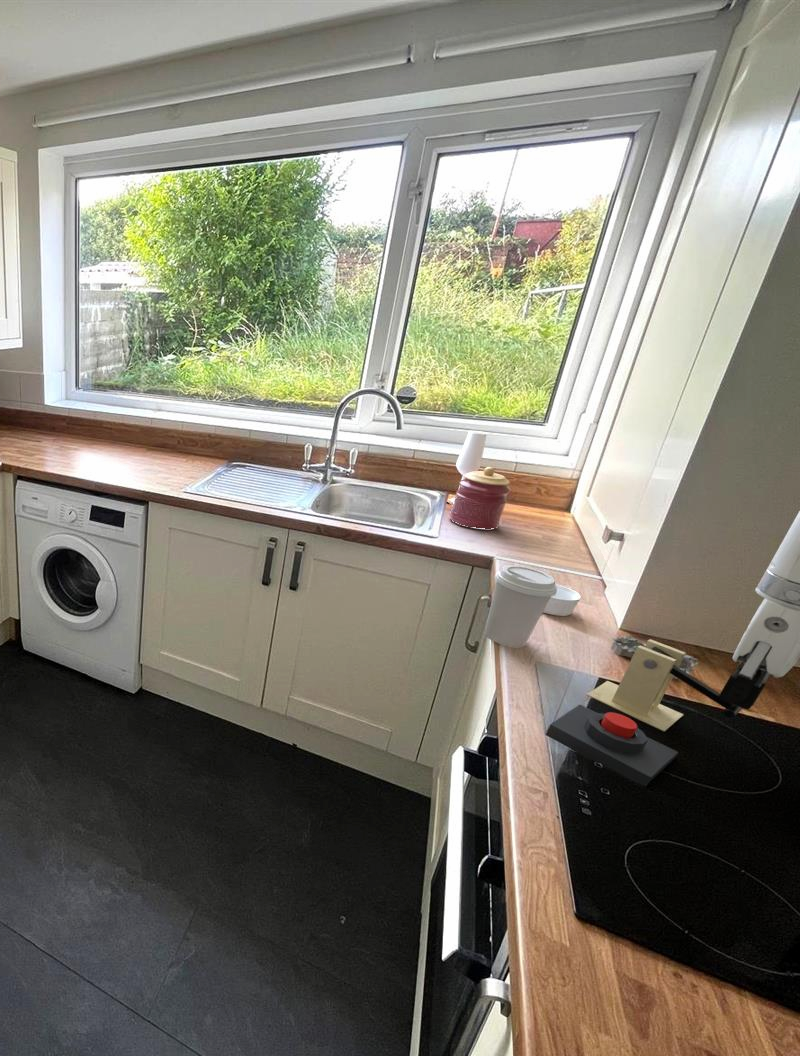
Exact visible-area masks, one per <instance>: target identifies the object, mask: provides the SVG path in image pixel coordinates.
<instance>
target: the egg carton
mask: <svg viewBox="0 0 800 1056" xmlns="http://www.w3.org/2000/svg"><path fill="white" fill-rule="evenodd" d="M612 640H613V642H612V645H611V647H610V649H611V650H612V651H614V652H613V653H614V654H615V655H618V656H624V657H628V658H630V659H632V657H633V655H634V653H635V651H636V649H637V647H638V646H643V647H645V645H646V643H644V642H642V641H638V639H636V638H635V637H632V636H631V635H629V636H627V635H626V636H621V637H616V638H614V637H613V638H612ZM698 664H700V659H698V658H695V657H694V656H692V655H688V654H687V653H686V654H685V656H684V658H683V659H682V661H681V663H680V665H679V667H678V668H680V669H681V670H683V671H684V672H686V673H688V674H689V675H691V673H692V671H693V669H694V668H693V667H694V666H697V665H698ZM673 679H674V680H679V678H677V677H675V676H674V677H673Z"/></svg>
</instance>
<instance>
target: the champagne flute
mask: <svg viewBox="0 0 800 1056" xmlns="http://www.w3.org/2000/svg"><path fill="white" fill-rule="evenodd" d="M487 435H488V433H487V432H485V431H479V430H469V431H468V434H467V435H466V438H465V441H464V443H463V446H462V448H461V450H460V452H459V455H458V458H457V460H456V463H455V467H456V469H457V471H458V473H460V475H461V480H464V479H465V474H467V473H471V472H472V471H480V468H481V465H482V461H483V460H482V459H483V455H484V450H485V445H486V439H487ZM459 488H460V485H459V487H458V489H459ZM449 500H450V501H451V502H453V503H454V500H455V497H454V498H450V499H449Z"/></svg>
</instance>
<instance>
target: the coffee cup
mask: <svg viewBox="0 0 800 1056" xmlns="http://www.w3.org/2000/svg"><path fill="white" fill-rule="evenodd" d="M493 577H494V580H495V586H494V590H493V594H492V599H491V601H490V607H489V611H488V615H487V616H488V617H487V620H486V624H485V628H484V631H483V636H485V637H486V638H487V639H489V641H492V642H493V643H496V644H499V645H501V646H505V647H508V648H513V649H514V648H515V649H516V648H517V649H519V648H524V647H525V646H526V644H527V642H528V640H529V639H530V637H531V635H532V634H533V631H534V629H535V627H536V626H537V623H538V622H539V621H540V618H541V616H542V614H543V611H544V609H545V607H546V605H547V603H548V601H549V600H550V598H551V596H553V595H555V594H556V593H557V588H556V585H555V584H556V579H555V578H554V577H553V576H552V575H551V574H549V573H547V572H545V571H542V570H540V569H538V568H533V567H529V566H524V565H520V564H519V565H517V564H509V565H505V566H503V567H502V569H500V570H498V572H496V573H495V575H494V576H493Z"/></svg>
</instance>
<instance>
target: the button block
mask: <svg viewBox="0 0 800 1056" xmlns="http://www.w3.org/2000/svg"><path fill="white" fill-rule="evenodd" d="M605 714H606V713H599V712H596V711H594V710H593V709H590V708H588V707H587V706H584V705H582V704H578V705H577V706H575V707H573V708H572V709H571V710H569V711H568V712H566V713H565V714H563V715H562V716H561V717H559V718H557V719H556V720H554V721H553V722H551V723H550V724H549V726H548V728H547V731H546V733H545V736H546V737H548V738H550V739H551V740H554V741H555V742H557V743H560V744H561V745H563V746H565V747H566V748H569V749H571V750H572V751H574V752H576V753H577V754H579V753H580V754H579V755H581V754H582V755H581V756H583V755H584V756H583V757H585V756H586V757H585V758H587V757H588V758H587V759H589V758H590V759H591V761H592V760H593V761H592V762H594V761H596V762H598V763H601V764H602V765H604V766H606V767H608V768H610V769H612V770H614V771H616V772H618V773H620V774H622V775H623V776H625V777H627V778H628V779H630V780H632V781H634V782H636V783H639V784H641V785H644V786H647V785H648V784H650V782H651V781H653V780H654V779H655V778H656V777H657V776H658V775H659V774H660V773H661V772H662V771H663V770H665V769H666V768H667V766H669V765H670V764H671V763H672V762H673V761H674V760H675V759H676V757H677V756H678V754H679V752H678V751H677V750H675V749H673V748H671V747H669V746H667V745H664V744H663V743H661V742H659V741H656V740H654V739H652V738H650V737H648V736H647V735H646V733H645V732H644V731H643V730H641V729H640V728H639V727H637V729H636V731H635V733H634V735H633V737H631V738H624V737H621V736H617V735H615V734H613V733H611V732H609V731H607V730H606V729H604V728H603V727H602V726H601V722H602V720H603V718H604V716H605ZM590 759H589V760H590ZM596 762H595V763H596ZM598 763H597V764H598ZM602 765H601V766H602Z"/></svg>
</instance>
